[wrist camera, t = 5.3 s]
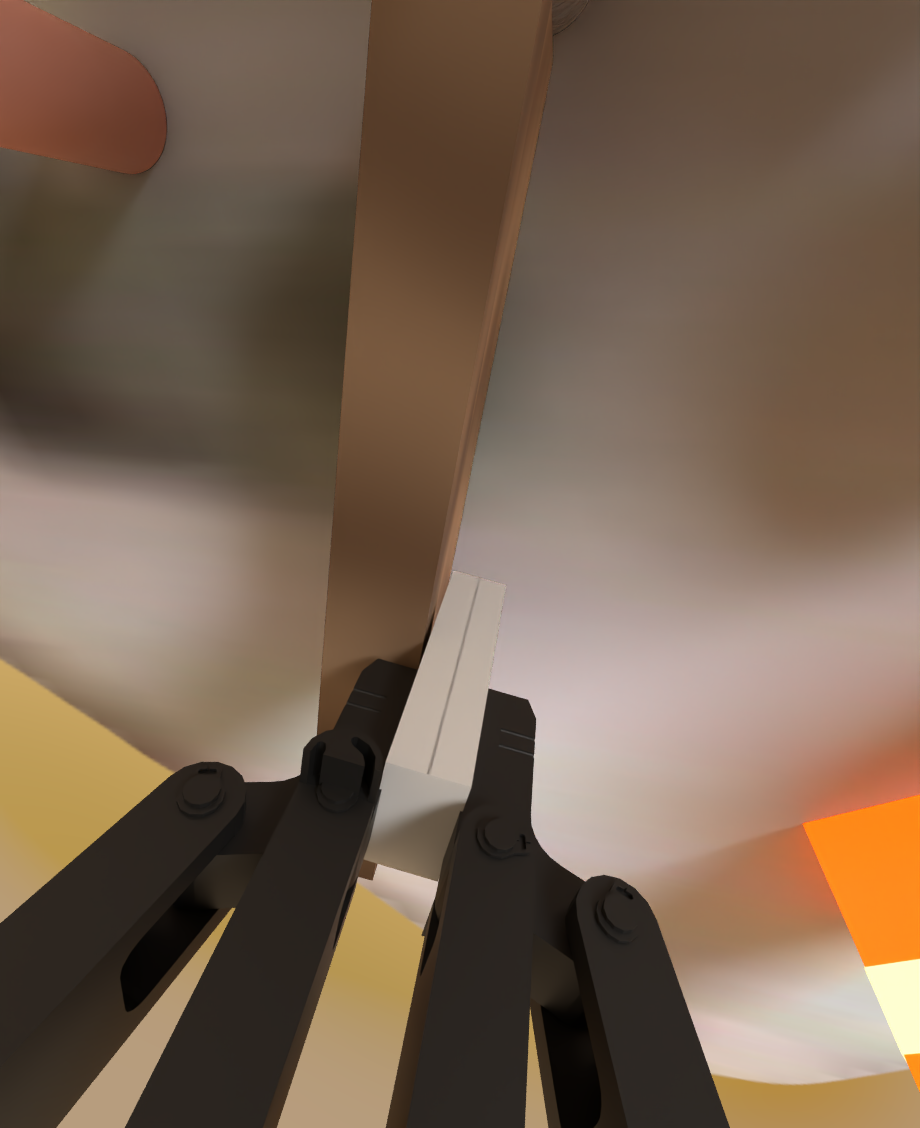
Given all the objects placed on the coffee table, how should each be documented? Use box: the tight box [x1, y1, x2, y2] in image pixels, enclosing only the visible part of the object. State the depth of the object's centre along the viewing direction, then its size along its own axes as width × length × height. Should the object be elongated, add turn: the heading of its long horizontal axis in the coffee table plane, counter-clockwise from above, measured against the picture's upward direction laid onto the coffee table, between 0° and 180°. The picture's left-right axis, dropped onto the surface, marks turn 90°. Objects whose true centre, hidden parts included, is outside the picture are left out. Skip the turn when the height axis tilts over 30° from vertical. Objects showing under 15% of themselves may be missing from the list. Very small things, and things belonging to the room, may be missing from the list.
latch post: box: [0, 0, 167, 174], centre depth 13 cm, size 3×3×7 cm
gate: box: [317, 0, 553, 880], centre depth 14 cm, size 18×2×10 cm, turn 170°
